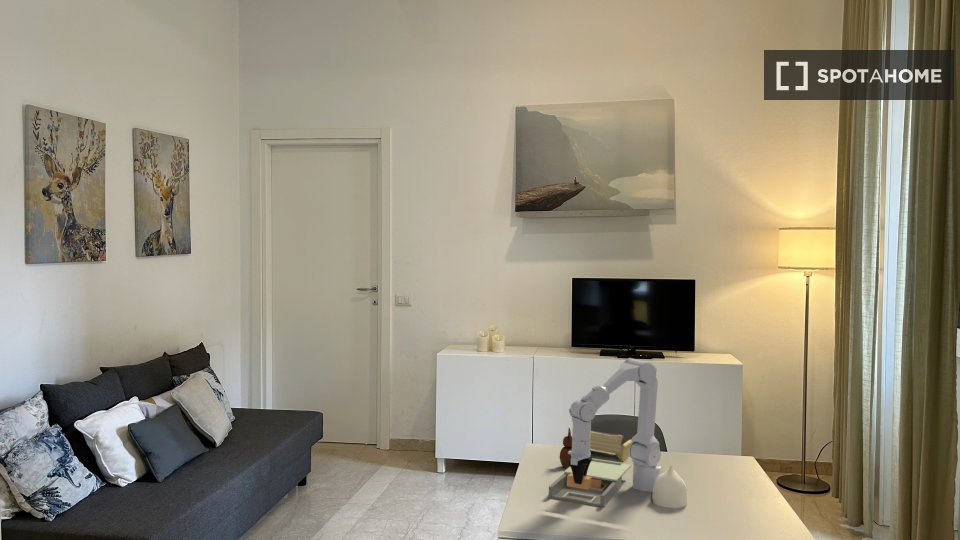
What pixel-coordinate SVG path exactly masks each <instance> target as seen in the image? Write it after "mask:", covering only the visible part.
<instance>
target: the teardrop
mask: <svg viewBox="0 0 960 540" xmlns="http://www.w3.org/2000/svg"><path fill="white" fill-rule="evenodd" d="M651 502H653V504H655V505H657V506H659V507H663V508H669V509H680V508H685V507H687V506H688V488H687V485H686V482H685V481H684V480H683V478H682V477H681V476H680V475H679V474H678V473H677V472H676V471H675V470H674V469H673V466H672V465H670V466H669V467H668V469H667V470H665V471H663V472H662V474H660V476H659V477H658V478H657V479H656V480H655V483H654V486H653V492H652V495H651Z"/></svg>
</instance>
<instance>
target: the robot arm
mask: <svg viewBox="0 0 960 540" xmlns="http://www.w3.org/2000/svg"><path fill="white" fill-rule="evenodd" d="M657 370H658V369H657V367H656V366H655V365H653V363H652V362H649V361H643V360H639V359H635V358H632V357H629V358H627V359H625V360H624V361H623V362H622V363H620V365H619V369H617V371H616V372H615V373H614V374H612V376H611V377H610V378H608V380H607V381H606V382H605V383H603V385H596V386H592V388H591V391H589V392H588V393H587V394H586V395H584V396H582V397H581V399H580V400H579V399H577V400H575V401H573V402H572V403H571V405H570V408H569V409H568V412H569V414H570V417H571V422H572V431H571V436H572V451H569V452H568V454H571V460H570V461H569V465H570V467H571V470H572V473H573V478H574V482H575V483H576V484H581V483H582V480H583V475H584V476H586V475H587V471H588V467H589V465H590V463H591V461H592V458H593V457H591V449H590V437H591V431H592V420H593V419H595V417H596V413H597V412H598V410H599V409H600V408H601V407H602V406H603V405H604V404H606V403H607V402H608V401H609V400H610V395H611V394H612V393H613V392H615V391H616V390H617V389H618V388H620V387H621V386H622V385H624V384H626V383H627V382H635V383H636V384H637V385H638V387H639V388H640V389H639V403H638V404H639V405H638V415H637V417H638V418H637V431H636V434H635V435H634V436H632V438H631V440H632V442H631V445H630V447H629V455H630V457H629V458H631V462H633V463H632V464H633V465H632V488H633V489H635V490H637V491H643V492H651V493H653V486H654V483H655V480H656V479H657V478H658V477H659V476H660V474H662V473H663V467H662V466H661V465H658V464H659V462H660V460H661V457H662V453H661V450H660V442H659V440H658V439H657V438H656V437H655V424H656V413H657V412H656V410H657V397H658V385H659V384H658V379H657Z"/></svg>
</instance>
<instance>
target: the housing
mask: <svg viewBox="0 0 960 540" xmlns="http://www.w3.org/2000/svg"><path fill="white" fill-rule="evenodd" d="M568 475H569V474H566V473H564V472H563V474H562V475H560V476H559V477H558V478H557V479H556V480H555V481H554V482H552V483H551V484H550V485H549V486H548V499H553V500H560V501H565V502H569V503H570V502H571V503H575V504H581V505H586V506H592V507H599V508H606V506H607V505H608V504H609V503H610V501H611V500H612V499H613V498H614V496H615V497H616V495H617V493H618V492H619V491H620V490H621V489H622V479H623V478H622V477H623V476H622V477H621V478H620V479H619V480H618V481H617V482H616V481H611V483H607V482H604V480H603V479H597V478H591V487H590V488H589V489H588V490H587V489H581V488H575V487H569V486H567V476H568Z"/></svg>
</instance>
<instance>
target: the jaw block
mask: <svg viewBox="0 0 960 540" xmlns="http://www.w3.org/2000/svg"><path fill="white" fill-rule="evenodd" d="M567 486H569V487H575V488H581V489H587V490H588V489H589V488H590V487H591V477H590V476H584V475H583V480H582V483H581V484H576V483H575V482H574V478H573V474H571V473H570V474H569V475H568V476H567Z"/></svg>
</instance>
